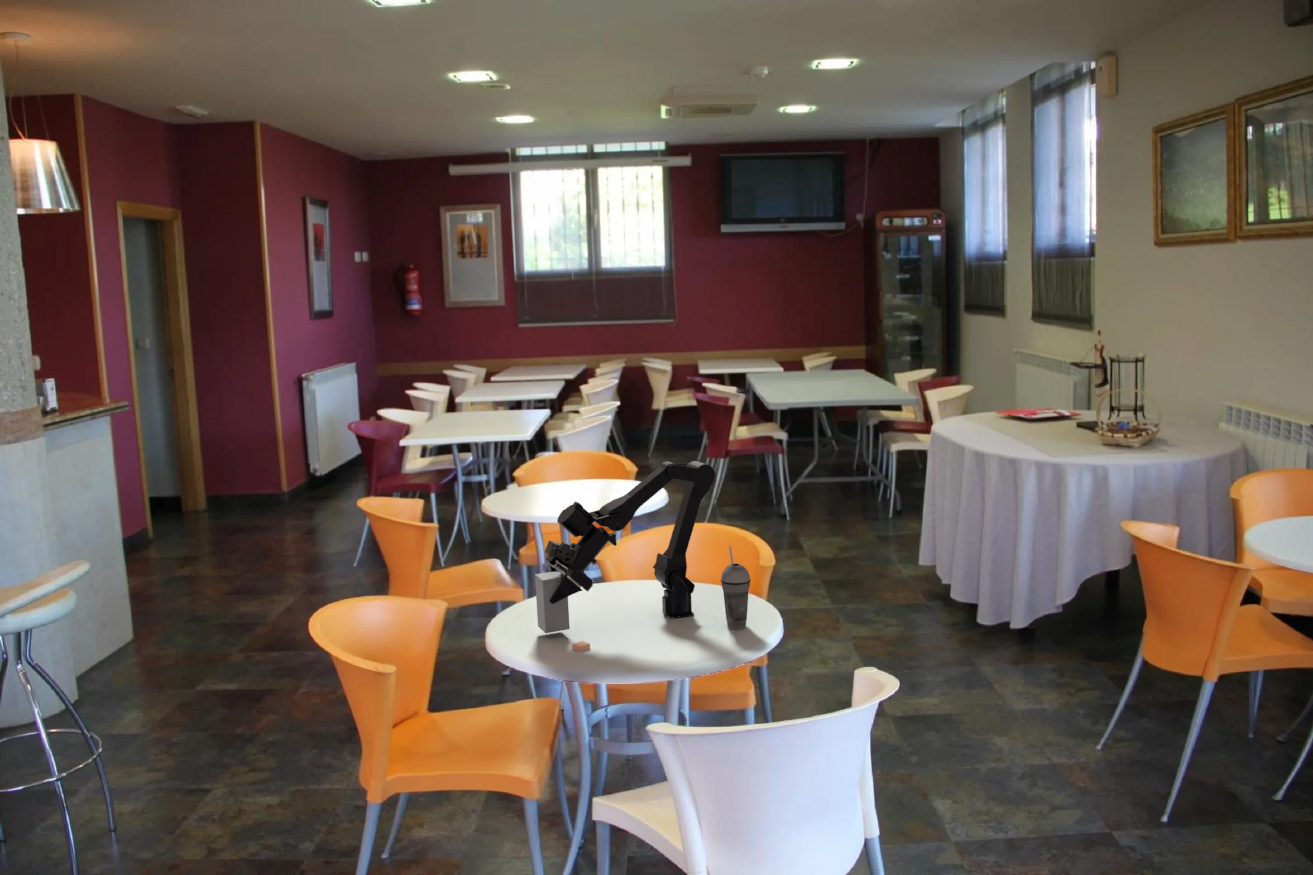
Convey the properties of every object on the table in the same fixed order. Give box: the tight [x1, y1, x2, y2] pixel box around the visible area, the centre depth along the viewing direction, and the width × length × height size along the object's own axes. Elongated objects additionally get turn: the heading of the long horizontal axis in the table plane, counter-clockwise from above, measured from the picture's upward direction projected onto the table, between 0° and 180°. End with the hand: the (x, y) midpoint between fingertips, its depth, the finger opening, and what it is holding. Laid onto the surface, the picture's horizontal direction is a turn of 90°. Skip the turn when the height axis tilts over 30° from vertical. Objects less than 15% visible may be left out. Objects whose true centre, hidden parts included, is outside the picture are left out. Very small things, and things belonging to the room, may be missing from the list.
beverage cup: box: [720, 545, 751, 630], centre depth 261 cm, size 7×7×20 cm
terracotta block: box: [571, 640, 591, 652], centre depth 250 cm, size 3×3×2 cm
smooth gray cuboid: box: [534, 571, 570, 634], centre depth 260 cm, size 6×6×13 cm
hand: (546, 599), depth 259 cm, fingers closed on smooth gray cuboid, 6 cm apart
